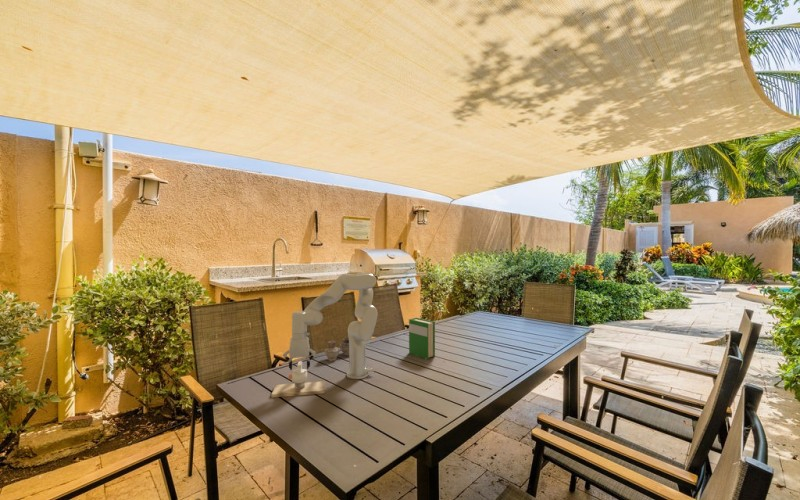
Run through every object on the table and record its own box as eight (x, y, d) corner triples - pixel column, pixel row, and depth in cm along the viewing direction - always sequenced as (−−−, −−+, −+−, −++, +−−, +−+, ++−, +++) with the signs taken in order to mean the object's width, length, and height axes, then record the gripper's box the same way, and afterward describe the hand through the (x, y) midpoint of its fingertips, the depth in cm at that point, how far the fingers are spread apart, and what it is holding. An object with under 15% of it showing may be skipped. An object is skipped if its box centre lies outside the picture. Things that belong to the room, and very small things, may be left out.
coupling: (307, 376, 183) (307, 360, 183) (306, 382, 175) (306, 365, 175) (289, 378, 181) (289, 361, 181) (287, 384, 173) (287, 367, 173)
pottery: (320, 360, 225) (320, 342, 225) (347, 350, 246) (347, 334, 246) (332, 363, 219) (332, 345, 219) (359, 353, 239) (359, 336, 239)
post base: (325, 383, 187) (325, 374, 186) (324, 393, 175) (324, 383, 175) (275, 387, 182) (275, 378, 182) (271, 397, 170) (271, 387, 170)
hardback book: (434, 356, 231) (434, 321, 231) (427, 359, 227) (427, 323, 226) (416, 350, 245) (416, 317, 244) (409, 353, 240) (409, 319, 239)
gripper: (316, 332, 183) (317, 365, 183) (283, 334, 180) (283, 367, 180) (316, 336, 176) (316, 370, 176) (280, 338, 173) (281, 372, 173)
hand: (299, 368), depth 178 cm, fingers open, 7 cm apart
